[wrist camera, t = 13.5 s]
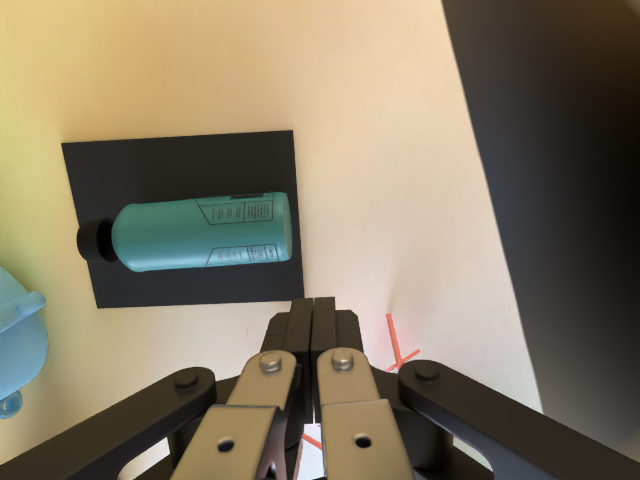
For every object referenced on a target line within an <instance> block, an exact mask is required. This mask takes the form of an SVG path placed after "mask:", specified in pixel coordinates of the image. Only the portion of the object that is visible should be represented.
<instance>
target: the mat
mask: <svg viewBox="0 0 640 480" xmlns="http://www.w3.org/2000/svg"><path fill="white" fill-rule="evenodd" d="M61 146H62V150H63V155H64V159H65V164H66V168H67V173H68V177H69V182H70V186H71V191H72V195H73V200H74V205H75V209H76V214H77V218H78V223H79V227H80V226H81V225H82V224H83V223H84V222H86V221H90V220H97V219H100V218H111V219H113V220H114V221H115V220H116V218H117V216H118V215H119V213H120V212H121V211H122V209H123V208H124V207H125V206H127V205H129V204H145V203H156V202H168V201H179V200H186V199H189V198H190V197H191V198H190V199H193V198H194V199H198V198H203V197H204V198H210V197H212V196H213V195H217V196H218V197H221V196H222V197H223V196H227V195H228V196H232V194H234V195H233V196H235V195H247V194H245V193H250V192H254V193H250V194H260V193H266V192H267V193H271V191H272V192H274V191H275V190H277V191H278V192H282V193H286V194H287V197H288V201H289V207H290V214H291V225H292V255H291V258H290V259H288V260H286V261H283V262H282V261H280V262H282V263H280V262H279V261H278V262H277V261H276V262H277V263H276V262H274V263H273V262H272V263H271V264H269V262H263V263H250V264H238V265H240V266H238V265H233V266H232V265H225V266H223V267H222V266H220V267H219V266H216V267H215V266H212V267H205V268H204V267H200V268H199V267H192V268H177V269H163V270H148V271H142V272H135V271H132V270H131V269H129V268H128V267H127V266H125V265H124V263H123V262H122V261H121V260H120V259H119V258H118V259H117V260H116V261H115V262H113V263H102V262H89V261H87V263H88V268H89V273H90V277H91V282H92V286H93V291H94V295H95V300H96V304H97V308H122V307H147V306H171V305H196V304H221V303H246V302H270V301H292V300H293V299H294V298H304V284H303V269H302V255H301V240H300V226H299V211H298V197H297V182H296V168H295V153H294V138H293V130H286V131H269V132H251V133H233V134H215V135H198V136H180V137H162V138H145V139H127V140H109V141H91V142H74V143H61ZM262 191H266V192H262ZM269 191H270V192H269ZM277 191H275V192H277ZM238 193H242V194H238ZM229 194H230V195H229ZM219 195H220V196H219ZM202 196H203V197H202ZM205 196H206V197H205ZM208 196H209V197H208ZM217 196H213V197H217ZM192 197H193V198H192ZM254 264H256V265H254ZM257 264H261V265H257ZM241 265H242V266H241ZM245 265H248V266H245ZM226 266H227V267H226ZM229 266H230V267H229ZM231 266H232V267H231ZM218 267H219V268H218ZM201 268H202V269H201ZM203 268H204V269H203Z"/></svg>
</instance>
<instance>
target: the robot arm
mask: <svg viewBox="0 0 640 480" xmlns="http://www.w3.org/2000/svg"><path fill="white" fill-rule="evenodd" d="M314 410H315V423H320V424H321V441H322V455H323V468H324V477H321V478H317V479H313V480H640V463H639V462H637V461H635V460H633V459H631V458H629V457H626V456H625V455H623V454H620V453H619V452H617V451H614V450H612V449H611V448H609V447H607V446H605V445H602V444H601V443H599V442H597V441H595V440H593V439H591V438H589V437H587V436H585V435H583V434H580V433H579V432H577V431H575V430H573V429H571V428H569V427H567V426H565V425H563V424H561V423H559V422H557V421H555V420H553V419H551V418H549V417H547V416H545V415H543V414H541V413H539V412H537V411H535V410H533V409H531V408H529V407H527V406H525V405H523V404H521V403H519V402H517V401H515V400H513V399H511V398H509V397H507V396H505V395H503V394H501V393H499V392H497V391H495V390H493V389H491V388H489V387H487V386H485V385H483V384H481V383H479V382H477V381H475V380H473V379H471V378H469V377H467V376H465V375H463V374H461V373H459V372H457V371H455V370H453V369H451V368H449V367H447V366H445V365H443V364H441V363H438V362H435V361H431V360H413V361H409V362H407V363H405V364H403V365H402V366H401V367H400V369H399V371H398V374H396V373H390V372H385V371H382V370H379V369H377V368H375V367H373V366H371V365H370V364H369V361H368V359H367V357H366V355H365V354H364V350H363V344H362V339H361V333H360V327H359V321H358V316H357V315H356V314H355V313H354V312H352V311H351V310H335V297H317V298H315V300H313V298H294V299H293V300H292V304H291V309H290V312H281V313H277V314H276V315H275V316H274V317H273V318H272V319H270V322H269V325H268V329H267V331H266V336H265V337H264V341H263V344H262V347H261V350H260V353H258V354H256V355H254V356H253V357H251V358H250V359H249V360H248V361H247V363H246V364H245V366H244V368H243V370H242V372H241V374H240V375H239V376H236V377H232V378H229V379H224V380H220V381H215V375H214V373H213V372H212V371H211V370H210V369H207V368H204V367H191V368H186V369H182V370H179V371H177V372H174V373H172V374H171V375H169V376H167V377H165V378H163V379H161V380H159V381H157V382H156V383H154V384H152V385H150V386H148V387H146V388H144V389H142V390H141V391H139V392H137V393H135V394H133V395H131V396H129V397H127V398H126V399H124V400H122V401H120V402H118V403H116V404H114V405H112V406H111V407H109V408H107V409H105V410H103V411H101V412H99V413H97V414H96V415H94V416H92V417H90V418H88V419H86V420H84V421H83V422H81V423H79V424H77V425H75V426H73V427H71V428H69V429H68V430H66V431H64V432H62V433H60V434H58V435H56V436H54V437H53V438H51V439H49V440H47V441H45V442H43V443H41V444H39V445H38V446H36V447H34V448H32V449H30V450H28V451H26V452H24V453H23V454H21V455H19V456H17V457H15V458H13V459H11V460H10V461H8V462H6V463H4V464H2V465H0V480H117V478H118V475H119V473H120V471H121V470H122V468H123V467H124V466H125V465H126V464H127V463H128V462H129V461H131V460H132V459H134V458H135V457H137V456H138V455H140V454H141V453H143V452H144V451H146V450H147V449H149V448H150V447H152V446H153V445H155V444H156V443H158V442H159V441H161V440H162V439H164V438H165V437H167V439H168V445H169V450H170V454H169V455H168V456H166V457H165V458H163V459H162V460H161V461H159V462H158V463H156V464H155V465H153V466H152V467H151V468H149V469H148V470H146V471H145V472H143V473H142V474H141V475H139V476H138V477H136V478H135V479H133V480H297V477H298V472H299V466H300V460H301V454H302V449H303V443H302V435H303V432H304V424H313V413H314ZM454 436H455V437H457V438H458V439H460V440H461V441H463V442H464V443H466V444H467V445H469V446H470V447H472V448H474V449H475V450H477V451H478V452H479V453H481V454H482V455H483V456H484V457H485V458H486V459H487V461H488V462H489V463H490V465H491V467H492V469H493V472H494V473H493V472H492V471H490V470H489V469H487V468H486V467H484V466H483V465H481V464H480V463H479V462H477V461H476V460H474V459H473V458H471V457H470V456H468V455H467V454H465V453H464V452H462V451H461V450H459V449H458V448H457V447H455V446H454V445H453V438H454Z"/></svg>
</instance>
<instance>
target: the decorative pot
mask: <svg viewBox="0 0 640 480" xmlns="http://www.w3.org/2000/svg"><path fill="white" fill-rule="evenodd" d="M45 305H46V300H45V297H44V295H43V294H41V293H40V292H37V291H33V292H29V293H28V292H27V291H26V289H25V288H24V287H23V286H22V285H21V284H20V283H19V282H18V281H17V280H16V279H15V278H14V277H13V276H12V275H11V274H10V273H9V272H8V271H7V270H5V269H4V268H3V267H1V266H0V419H6V418H10V417H12V416H13V415H15V414H16V413H17V412H18V411H19V410H20V409H21V407H22V395H21V393H20V392H19V391H18V390H19V389H20V388H22V387H23V386H25V385H26V384H27V383H29V382H30V381H31V380H33V379H34V378H35V377H36V376H37V375H38V374H39V372H40V371H41V369H42V367H43V365H44V363H45V360H46V356H47V352H48V336H47V330H46V327H45V324H44V321H43V318H42V316H41V313H40V311H39V309H41V308H43V307H44V306H45ZM4 403H5V404H6V410H4V409H3V407H2V406H3V405H4Z"/></svg>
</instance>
